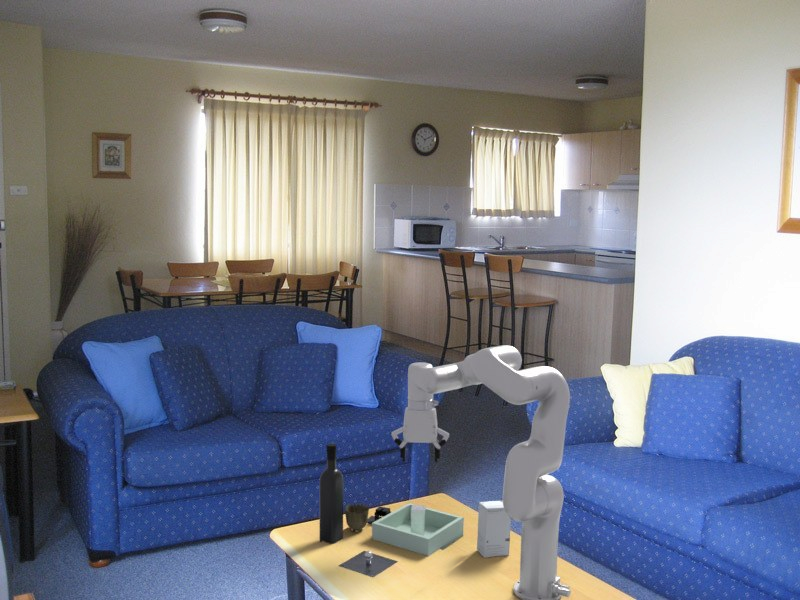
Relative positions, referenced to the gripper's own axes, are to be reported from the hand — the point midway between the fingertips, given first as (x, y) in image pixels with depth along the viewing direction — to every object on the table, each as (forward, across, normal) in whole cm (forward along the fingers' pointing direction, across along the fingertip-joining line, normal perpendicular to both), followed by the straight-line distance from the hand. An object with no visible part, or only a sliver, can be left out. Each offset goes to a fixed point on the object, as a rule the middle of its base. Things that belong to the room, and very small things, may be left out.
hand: (420, 460), depth 246 cm
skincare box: (+25, -22, +7) cm, 34 cm away
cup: (+25, +20, -3) cm, 32 cm away
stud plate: (+25, +13, +20) cm, 34 cm away
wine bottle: (+25, +26, +4) cm, 36 cm away
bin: (+25, 0, 0) cm, 25 cm away
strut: (+24, 0, 0) cm, 24 cm away
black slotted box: (+25, +12, -13) cm, 31 cm away
